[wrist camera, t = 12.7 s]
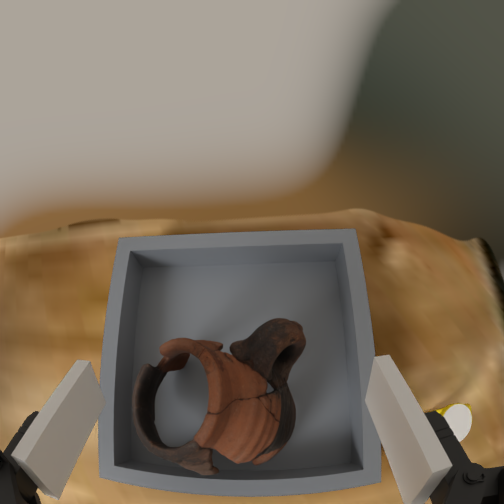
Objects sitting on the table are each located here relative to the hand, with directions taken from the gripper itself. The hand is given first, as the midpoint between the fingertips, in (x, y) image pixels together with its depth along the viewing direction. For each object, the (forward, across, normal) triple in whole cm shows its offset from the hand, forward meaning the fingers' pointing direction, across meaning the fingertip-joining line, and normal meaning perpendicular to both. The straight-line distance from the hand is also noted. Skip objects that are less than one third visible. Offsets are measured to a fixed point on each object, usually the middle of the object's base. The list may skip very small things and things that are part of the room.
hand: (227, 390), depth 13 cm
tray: (+8, 0, -5) cm, 10 cm away
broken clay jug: (+6, 0, -6) cm, 9 cm away
